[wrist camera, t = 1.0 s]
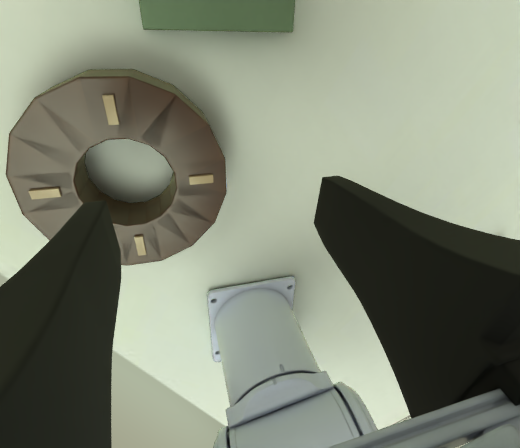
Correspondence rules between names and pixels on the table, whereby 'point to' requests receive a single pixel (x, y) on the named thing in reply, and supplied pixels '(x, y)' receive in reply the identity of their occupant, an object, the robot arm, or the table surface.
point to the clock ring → (117, 127)
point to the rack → (218, 15)
